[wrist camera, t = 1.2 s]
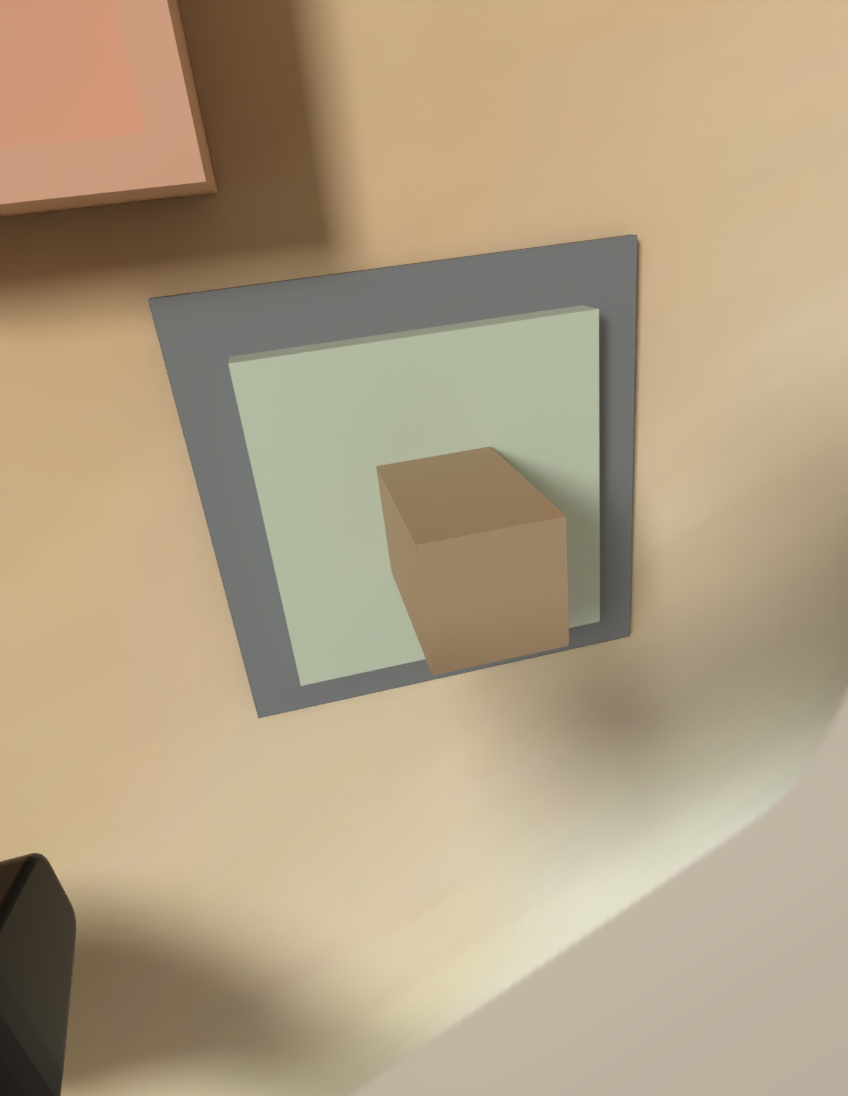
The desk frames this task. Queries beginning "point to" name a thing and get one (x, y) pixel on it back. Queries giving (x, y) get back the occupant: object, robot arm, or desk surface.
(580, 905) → the desk surface
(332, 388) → the lid
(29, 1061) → the robot arm
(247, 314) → the mat
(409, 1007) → the desk surface
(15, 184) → the dish
